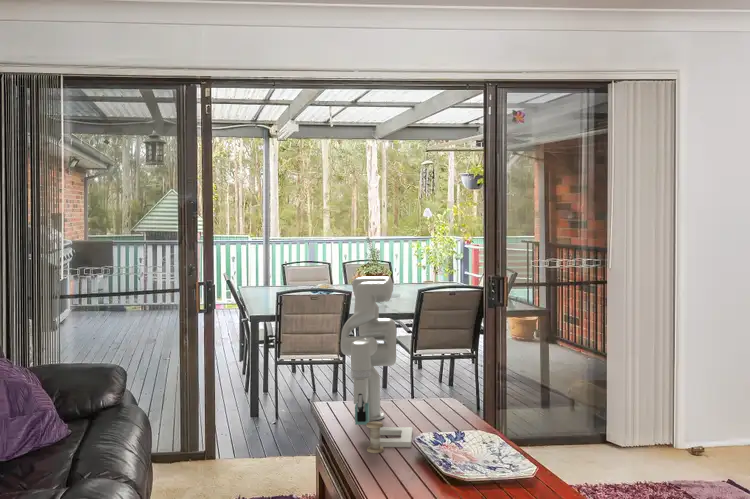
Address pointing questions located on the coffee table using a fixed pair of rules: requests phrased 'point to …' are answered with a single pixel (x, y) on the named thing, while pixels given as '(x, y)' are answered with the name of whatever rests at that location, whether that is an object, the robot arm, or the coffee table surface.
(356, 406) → the block
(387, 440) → the notched board
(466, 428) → the coffee table surface
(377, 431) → the bobbin
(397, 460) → the coffee table surface
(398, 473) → the coffee table surface
